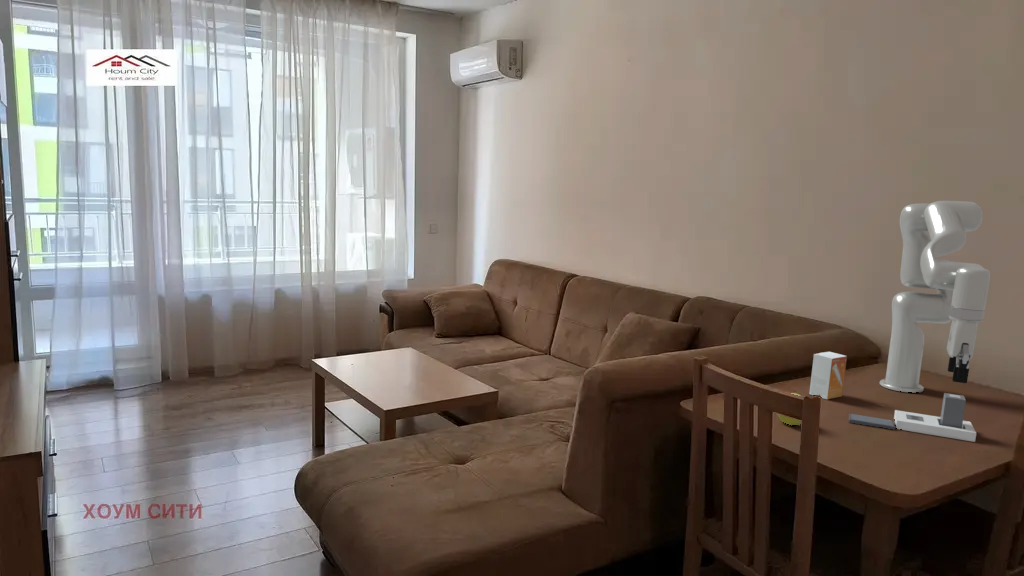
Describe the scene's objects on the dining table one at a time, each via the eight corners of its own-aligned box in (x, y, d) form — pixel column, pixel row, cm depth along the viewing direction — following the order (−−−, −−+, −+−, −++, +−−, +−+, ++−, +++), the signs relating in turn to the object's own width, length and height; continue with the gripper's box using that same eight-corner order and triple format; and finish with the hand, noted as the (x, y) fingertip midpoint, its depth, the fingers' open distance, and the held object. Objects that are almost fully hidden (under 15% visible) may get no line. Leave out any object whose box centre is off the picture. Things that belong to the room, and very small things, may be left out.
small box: (827, 400, 211) (832, 358, 209) (808, 394, 216) (813, 353, 214) (842, 396, 216) (847, 355, 214) (824, 391, 221) (828, 351, 219)
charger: (939, 428, 190) (944, 392, 188) (958, 431, 188) (963, 395, 186) (940, 433, 186) (945, 396, 184) (960, 436, 184) (965, 399, 182)
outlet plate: (893, 418, 197) (895, 409, 196) (969, 430, 189) (970, 421, 189) (896, 428, 188) (897, 419, 187) (975, 442, 180) (976, 432, 180)
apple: (812, 419, 190) (812, 387, 186) (800, 434, 185) (799, 401, 181) (784, 411, 195) (783, 380, 192) (771, 426, 190) (769, 394, 187)
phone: (848, 416, 197) (849, 413, 197) (893, 423, 192) (893, 420, 192) (848, 422, 191) (849, 419, 191) (894, 430, 187) (894, 426, 187)
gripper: (946, 306, 191) (936, 366, 194) (954, 318, 176) (944, 383, 179) (978, 310, 188) (968, 370, 191) (989, 322, 173) (978, 388, 176)
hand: (956, 377), depth 185 cm, fingers open, 9 cm apart
